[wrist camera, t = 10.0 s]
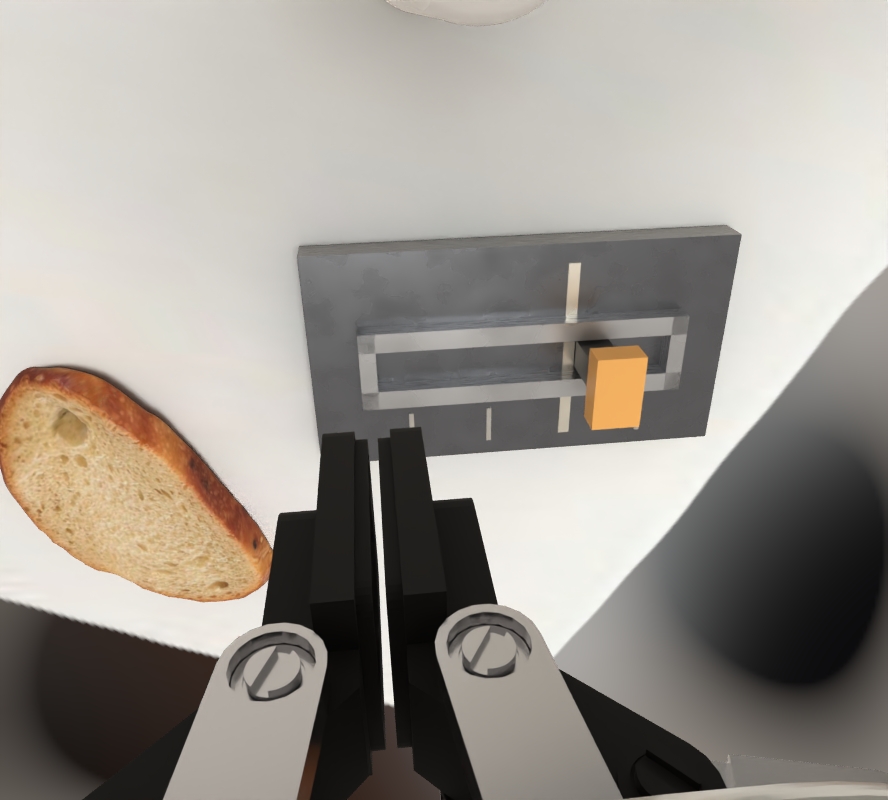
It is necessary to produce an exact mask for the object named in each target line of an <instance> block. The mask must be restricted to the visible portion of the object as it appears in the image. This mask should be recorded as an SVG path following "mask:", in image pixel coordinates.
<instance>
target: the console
mask: <svg viewBox="0 0 888 800" xmlns="http://www.w3.org/2000/svg"><path fill="white" fill-rule="evenodd" d="M741 235H742V234H740V233H738V232H737V231H735V230H734V229H732V228H730V227H729V226H727V225H722V226H702V227H681V228H661V229H641V230H621V231H601V232H580V233H560V234H540V235H520V236H500V237H479V238H459V239H439V240H419V241H398V242H378V243H358V244H338V245H318V246H299V250H298V255H297V261H298V270H299V278H300V286H301V295H302V303H303V311H304V320H305V328H306V336H307V345H308V353H309V361H310V370H311V378H312V386H313V395H314V403H315V411H316V420H317V428H318V436H319V445H320V453H321V444H322V434H325V433H339V432H353V431H354V432H355V438H356V440H359V439H368V449H369V461H376V460H379V454H378V438H386V437H390V429H395V428H409V427H421V430H422V436H423V443H424V449H425V455H426V457H430V456H443V455H457V454H470V453H483V452H497V451H510V450H523V449H537V448H550V447H564V446H577V445H590V444H604V443H617V442H630V441H644V440H657V439H670V438H684V437H697V436H705V433H706V427H707V422H708V416H709V411H710V405H711V400H712V394H713V389H714V383H715V378H716V373H717V367H718V362H719V356H720V351H721V345H722V340H723V334H724V329H725V323H726V318H727V312H728V307H729V301H730V296H731V290H732V285H733V279H734V274H735V268H736V263H737V257H738V252H739V246H740V241H741ZM601 339H609V340H610V342H611V343H612V344H613V346H614V347H620V346H635V345H638V346H639V347H640V348H641V349H642V350H643V352H644V353H645V354H646V355H647V357H648V363H647V371H646V379H645V386H644V394H643V402H642V409H641V417H640V425H639V427H627V428H614V429H600V430H591V428H590V426H589V424H588V423H587V421H586V419H585V417H584V410H585V398H586V385H585V383H584V382H583V380H582V378H581V377H580V375H579V373H578V372H577V370H576V368H575V367H574V363H575V350H576V341H585V340H601Z"/></svg>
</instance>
